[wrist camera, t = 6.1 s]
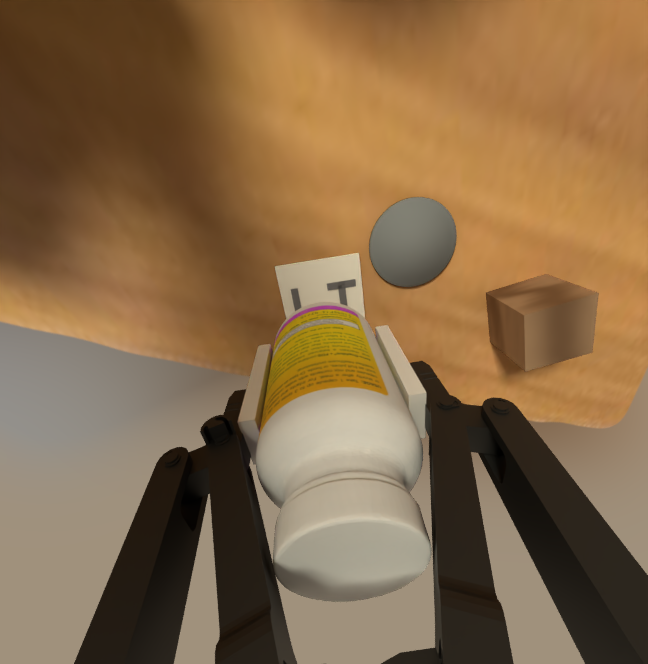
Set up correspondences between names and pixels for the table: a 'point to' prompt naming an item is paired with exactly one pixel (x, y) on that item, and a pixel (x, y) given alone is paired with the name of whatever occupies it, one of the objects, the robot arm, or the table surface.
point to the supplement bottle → (339, 461)
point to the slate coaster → (412, 241)
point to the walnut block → (542, 321)
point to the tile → (321, 283)
